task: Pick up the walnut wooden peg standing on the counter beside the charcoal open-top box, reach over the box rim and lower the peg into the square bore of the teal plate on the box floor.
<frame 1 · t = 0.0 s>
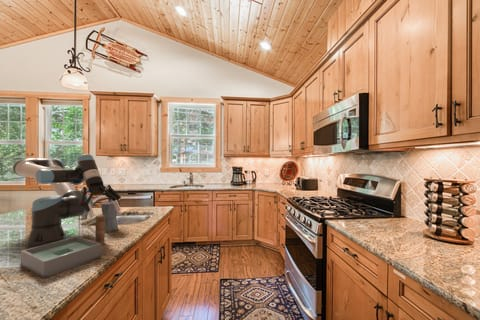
hand: (106, 213, 110), 15 cm above the countertop, tool tilted 35°, fingers open, 13 cm apart
moka pot: (109, 230, 133), on the countertop
walnut peg: (99, 243, 110), on the countertop
bore box: (62, 261, 90), on the countertop
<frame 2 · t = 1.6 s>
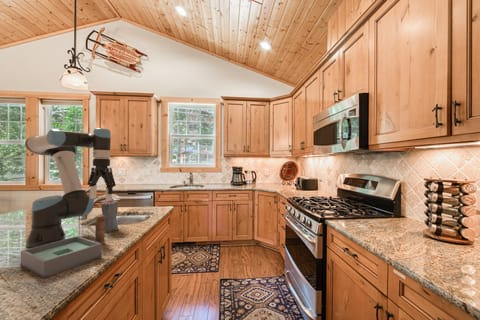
hand: (100, 199, 111), 23 cm above the countertop, tool pointing down, fingers open, 13 cm apart
nothing on the countertop moved.
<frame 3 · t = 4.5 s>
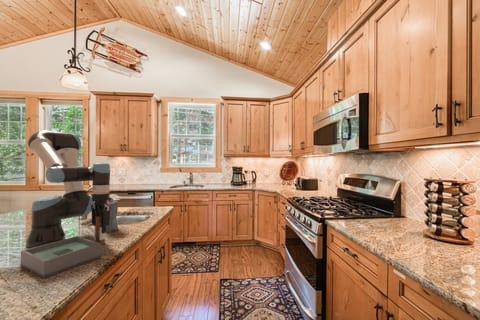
hand: (100, 238, 110), 3 cm above the countertop, tool pointing down, fingers closed on walnut peg, 4 cm apart
walnut peg: (99, 243, 110), on the countertop, touching gripper
everything else where it was.
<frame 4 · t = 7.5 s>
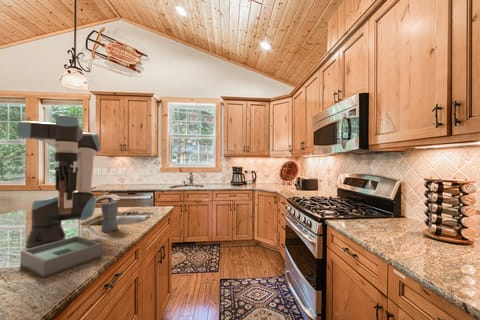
hand: (65, 207, 91), 23 cm above the countertop, tool pointing down, fingers closed on walnut peg, 4 cm apart
walnut peg: (65, 213, 91), point 20 cm above the countertop, touching gripper
everything else where it was.
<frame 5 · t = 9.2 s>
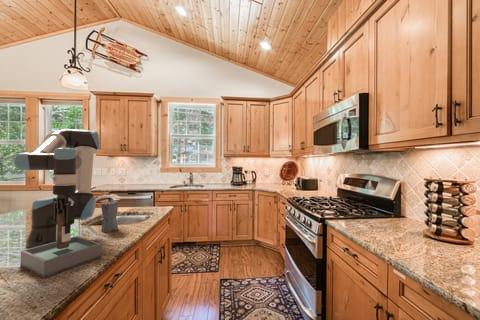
hand: (63, 240, 90), 9 cm above the countertop, tool pointing down, fingers closed on walnut peg, 4 cm apart
walnut peg: (63, 247, 90), point 6 cm above the countertop, touching gripper
everything else where it was.
when the fingers open (6 cm above the countertop, at t = 10.4 s): walnut peg drops 1 cm, resting on bore box.
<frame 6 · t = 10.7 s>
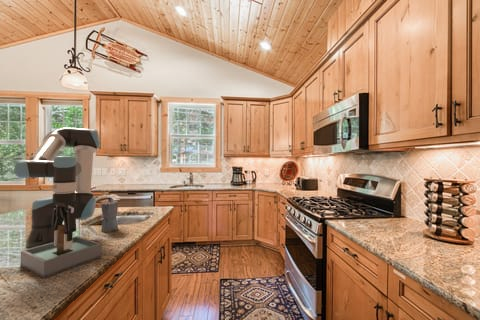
hand: (63, 246, 90), 6 cm above the countertop, tool pointing down, fingers open, 7 cm apart
walnut peg: (62, 258, 90), point 1 cm above the countertop, touching bore box
everything else where it was.
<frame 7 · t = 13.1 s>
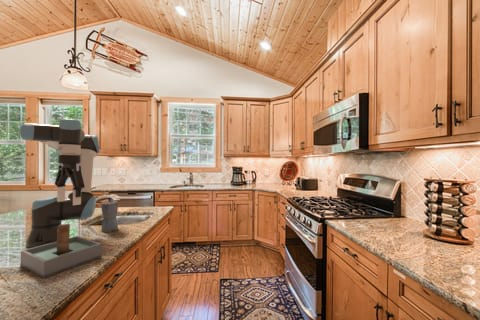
hand: (68, 203, 94), 24 cm above the countertop, tool pointing down, fingers open, 13 cm apart
nothing on the countertop moved.
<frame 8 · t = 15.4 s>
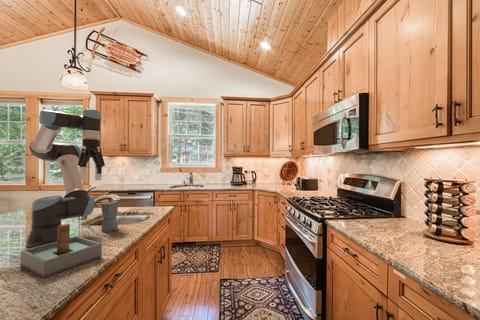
hand: (90, 179, 112), 33 cm above the countertop, tool pointing down, fingers open, 13 cm apart
nothing on the countertop moved.
at the end: walnut peg 0.1 cm off-centre on the bore box, point 1.0 cm above the bore box's base; walnut peg tilted 0°; the gripper is holding nothing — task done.
